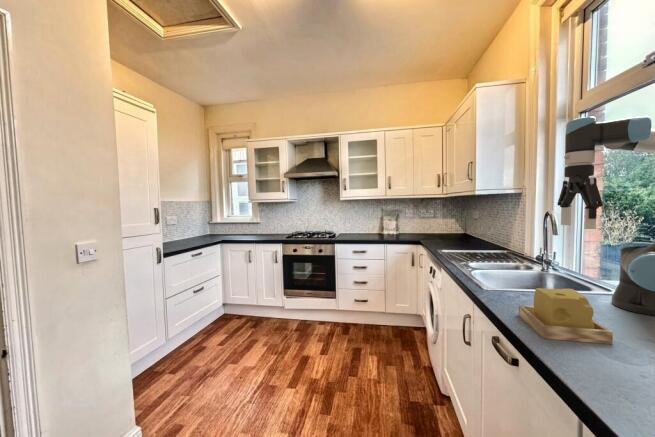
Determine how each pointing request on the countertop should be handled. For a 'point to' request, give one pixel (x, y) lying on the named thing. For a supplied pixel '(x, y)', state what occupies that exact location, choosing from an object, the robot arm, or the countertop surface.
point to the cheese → (563, 308)
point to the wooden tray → (566, 329)
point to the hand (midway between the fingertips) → (576, 227)
